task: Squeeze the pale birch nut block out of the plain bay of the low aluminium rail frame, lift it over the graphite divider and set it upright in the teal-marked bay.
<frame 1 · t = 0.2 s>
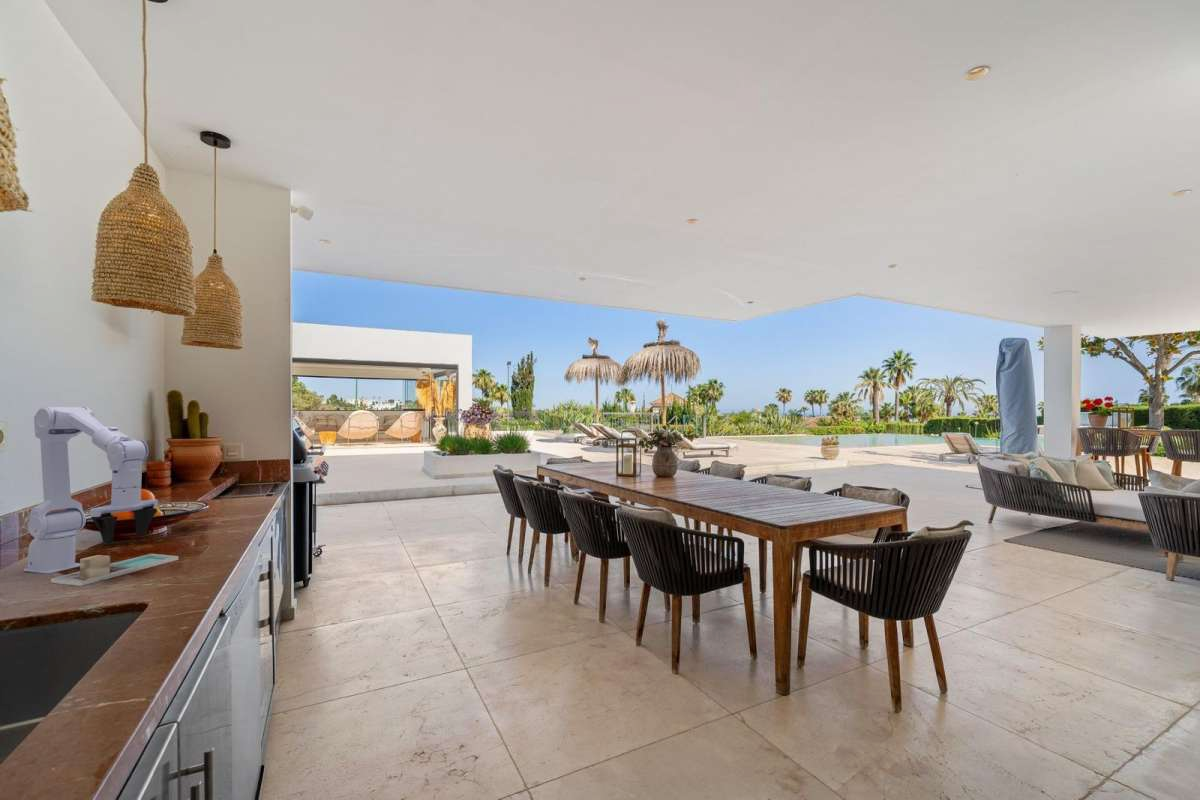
hand: (124, 539, 136), 10 cm above the countertop, fingers open, 7 cm apart
rail frame: (119, 570, 141), on the countertop
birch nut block: (94, 576, 135), resting in rail frame
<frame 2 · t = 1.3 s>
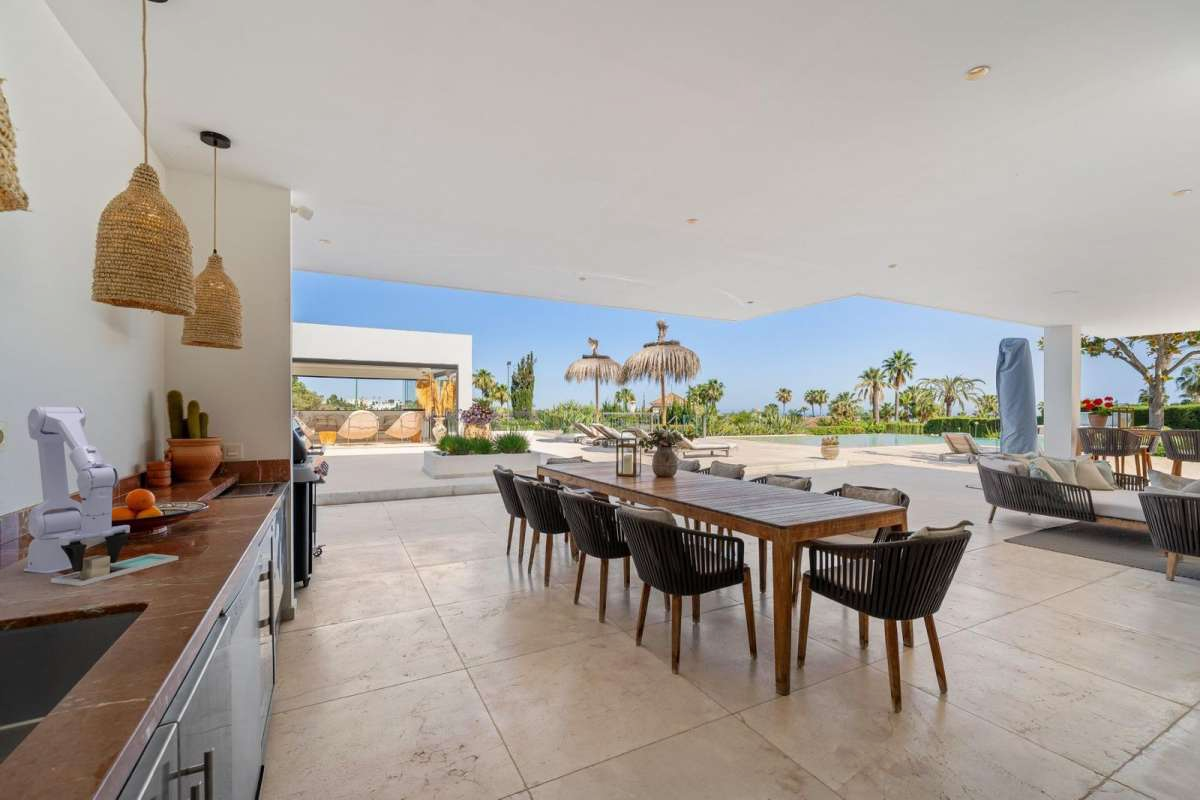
hand: (95, 566, 135), 3 cm above the countertop, fingers open, 7 cm apart
nothing on the countertop moved.
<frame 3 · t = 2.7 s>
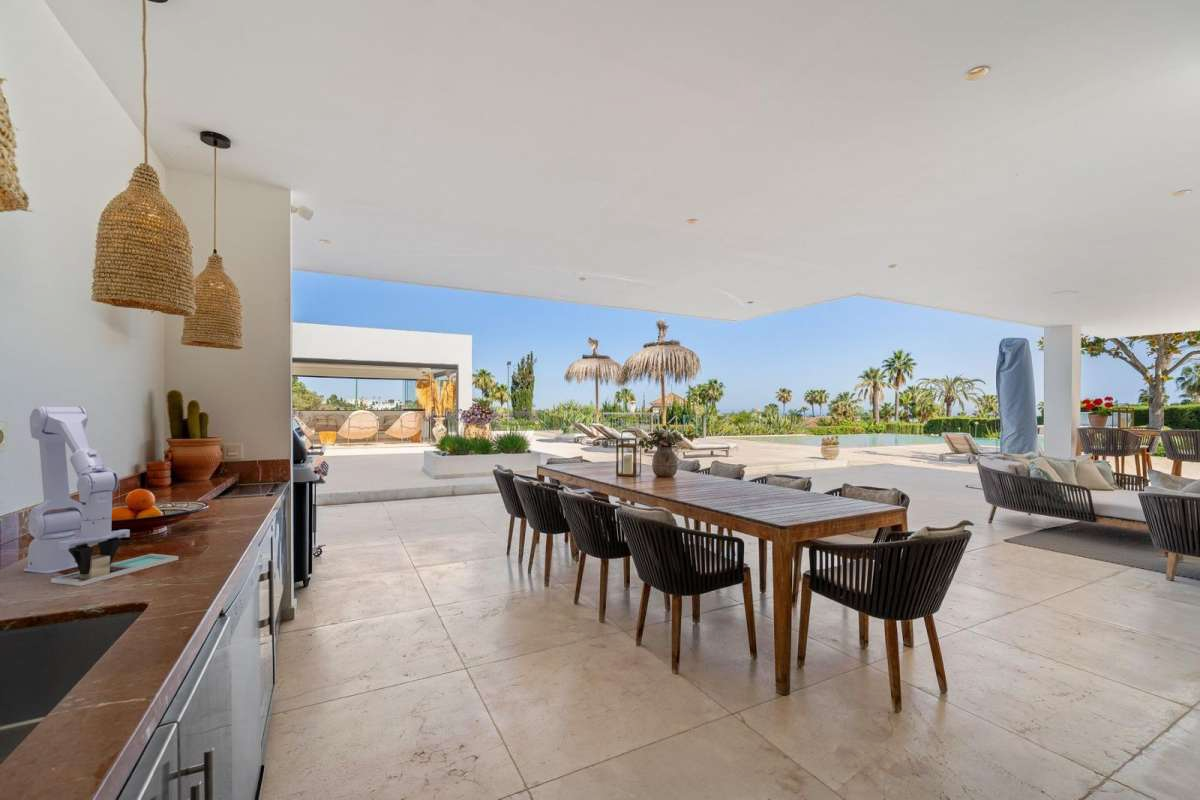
hand: (95, 571, 135), 1 cm above the countertop, fingers closed on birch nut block, 4 cm apart
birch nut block: (94, 576, 135), resting in rail frame, touching gripper
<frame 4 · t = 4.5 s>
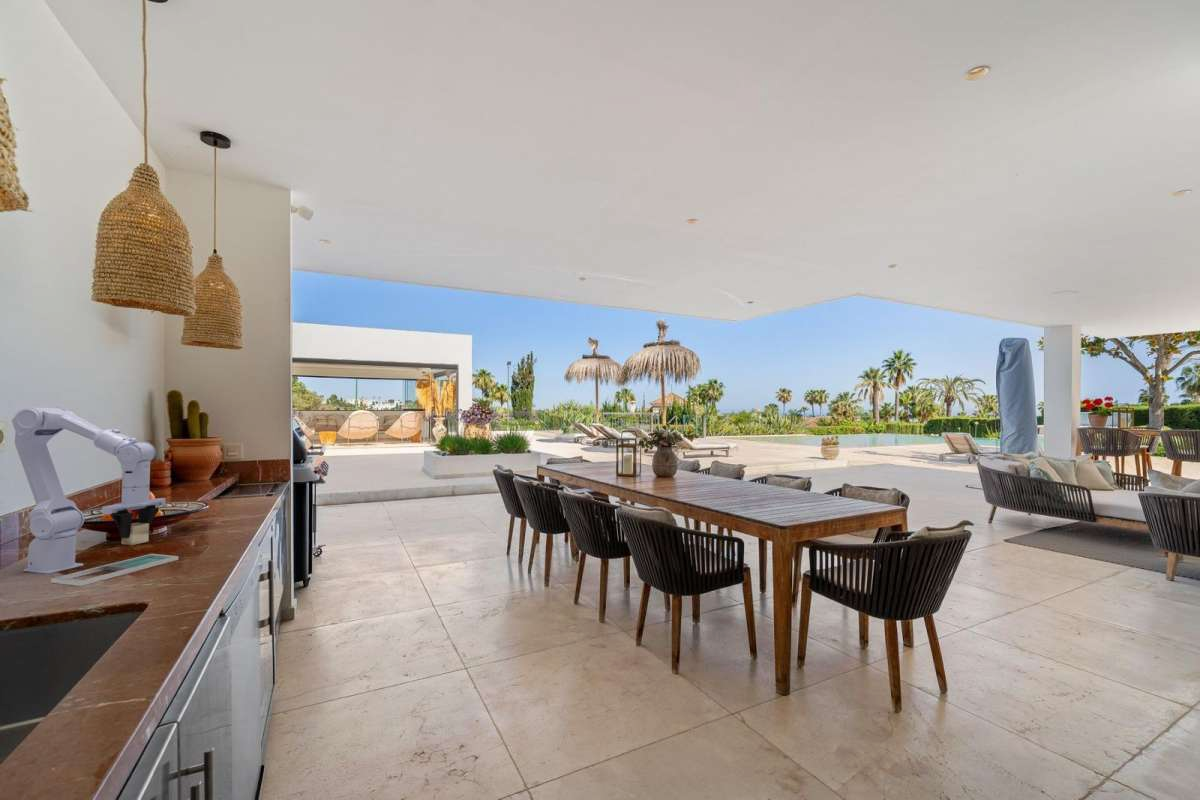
hand: (134, 535, 144), 8 cm above the countertop, fingers closed on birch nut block, 4 cm apart
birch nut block: (135, 542, 144), point 7 cm above the countertop, touching gripper
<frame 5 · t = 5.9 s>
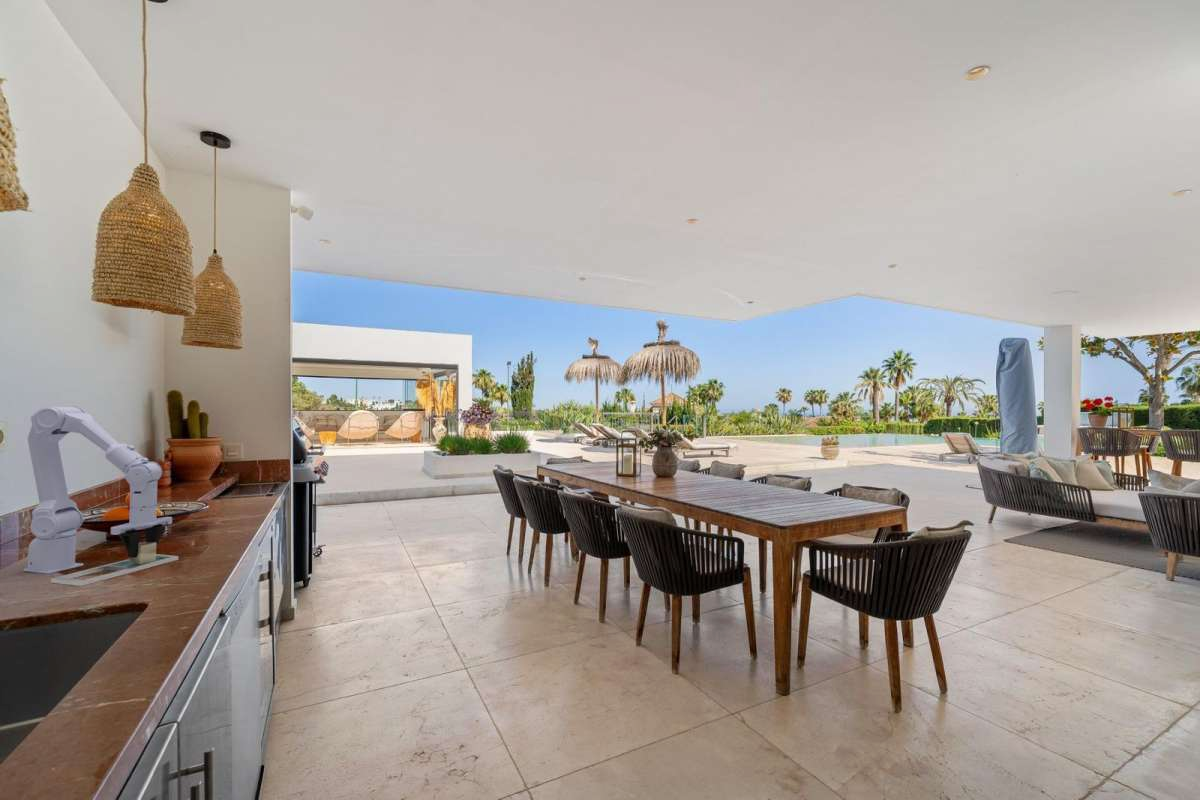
hand: (141, 555, 146), 3 cm above the countertop, fingers closed on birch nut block, 4 cm apart
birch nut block: (142, 561, 146), point 1 cm above the countertop, touching gripper
when the fingers open (3 cm above the countertop, at t = 6.6 s): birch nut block stays where it is, resting on rail frame.
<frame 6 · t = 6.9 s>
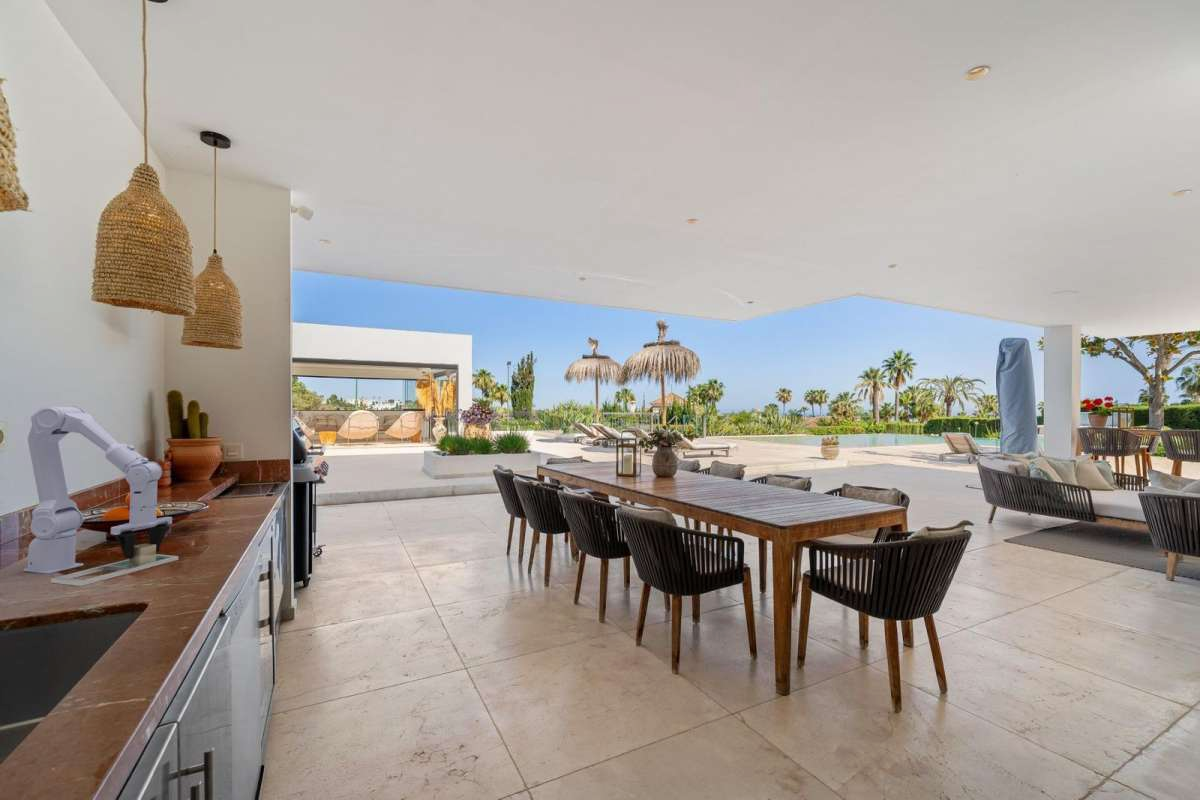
hand: (141, 555, 146), 3 cm above the countertop, fingers open, 6 cm apart
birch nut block: (142, 563, 146), resting on rail frame
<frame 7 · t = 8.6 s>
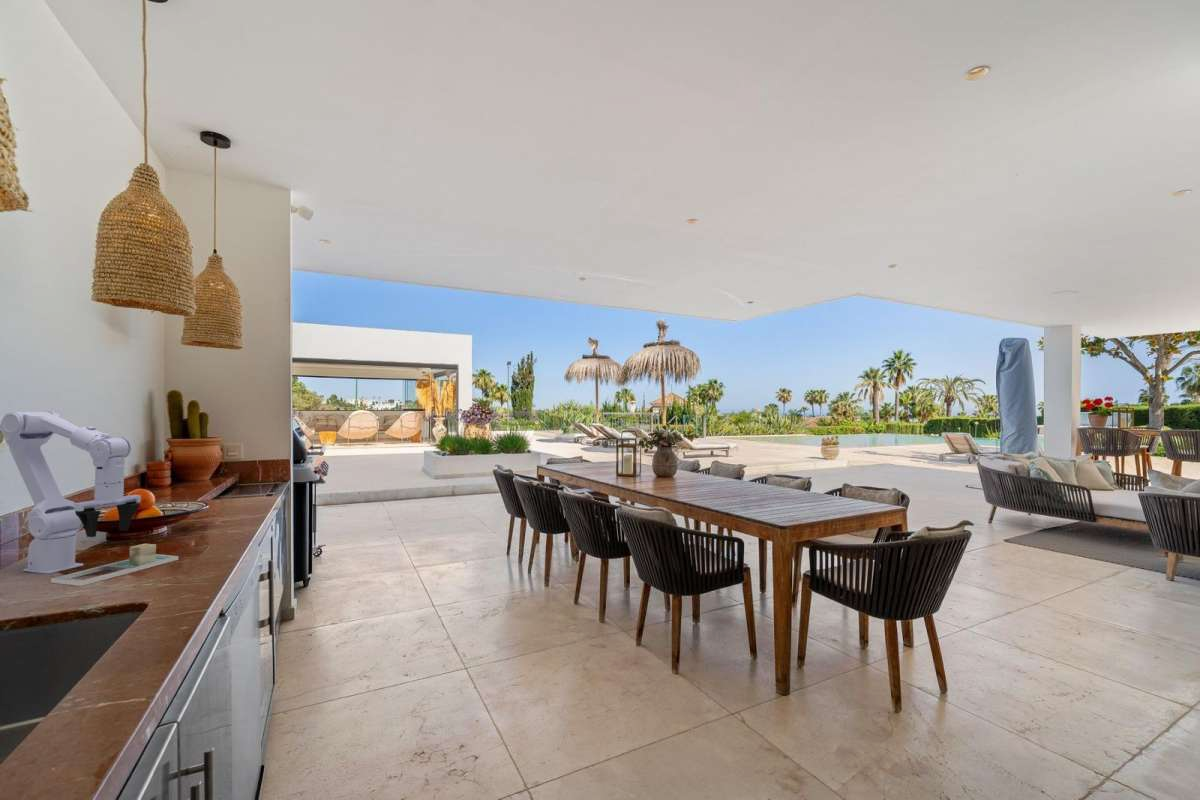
hand: (107, 533, 141), 10 cm above the countertop, fingers open, 7 cm apart
nothing on the countertop moved.
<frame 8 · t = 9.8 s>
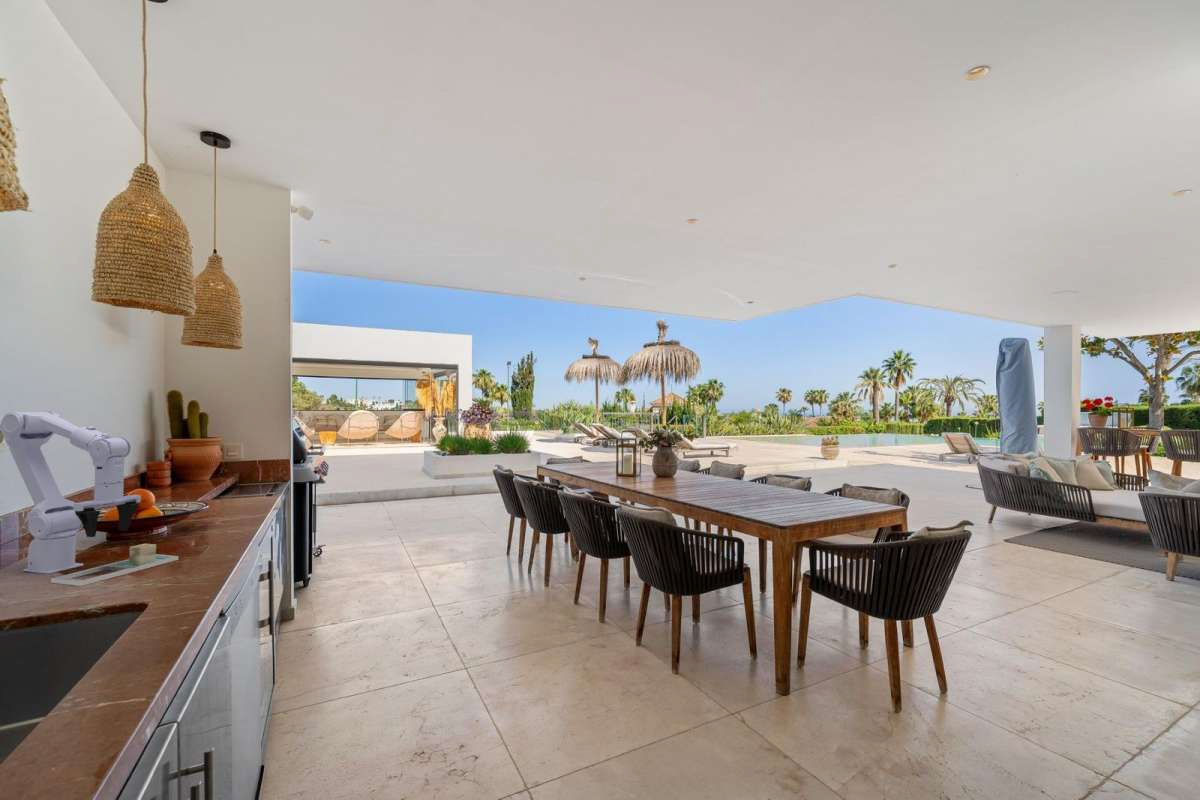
hand: (107, 533, 141), 10 cm above the countertop, fingers open, 7 cm apart
nothing on the countertop moved.
at the end: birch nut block 0.3 cm from the target spot, resting on rail frame; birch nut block tilted 0°; the gripper is holding nothing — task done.
